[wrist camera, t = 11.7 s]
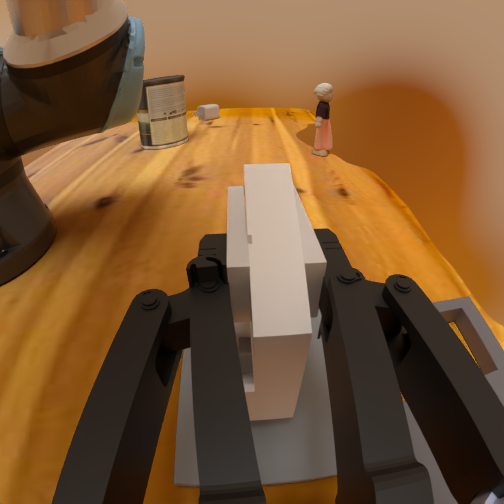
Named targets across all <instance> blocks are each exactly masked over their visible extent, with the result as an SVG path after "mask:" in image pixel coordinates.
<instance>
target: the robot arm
mask: <svg viewBox="0 0 504 504" xmlns="http://www.w3.org/2000/svg"><path fill="white" fill-rule="evenodd" d="M6 2H7V6H8V11H9V14H10V18H11V22H12V26H13V31H12V33H11V35H10V36H9V38H8V40H7V42H6V44H5V46H4V48H2V47H0V285H1V284H3V283H5V282H7V281H9V280H10V279H12V278H14V277H15V276H17V275H18V274H20V273H21V272H23V271H24V270H26V269H27V268H28V267H29V266H31V265H32V264H33V263H34V262H35V261H36V260H37V259H39V258H40V257H41V256H42V254H43V253H44V252H45V251H46V250H47V249H48V247H49V246H50V245H51V243H52V241H53V239H54V237H55V235H56V225H55V222H54V219H53V216H52V213H51V211H50V209H49V208H48V207H47V206H46V205H45V204H44V203H43V202H42V200H41V198H40V197H39V195H38V193H37V192H36V190H35V189H34V187H33V186H32V184H31V182H30V181H29V179H28V178H27V176H26V174H25V170H24V167H23V163H22V159H21V156H22V155H24V154H27V153H30V152H33V151H36V150H39V149H42V148H45V147H49V146H52V145H55V144H59V143H62V142H66V141H69V140H73V139H76V138H80V137H84V136H88V135H92V134H96V133H102V132H104V131H105V130H107V129H110V128H114V127H117V126H120V125H124V124H126V123H128V122H130V121H131V120H132V119H133V118H134V117H135V115H136V114H137V112H138V109H139V105H140V101H141V95H142V86H143V73H144V66H143V60H144V51H145V50H144V49H145V41H144V28H143V23H142V21H141V20H140V19H139V18H133V17H128V8H127V6H126V4H125V3H124V2H123V1H121V0H6ZM293 188H294V194H295V201H296V207H297V214H298V221H299V228H300V235H301V242H302V250H303V257H304V266H305V273H306V281H307V290H308V299H309V308H310V317H311V318H315V317H317V315H318V310H319V309H320V313H321V316H322V317H321V321H320V326H319V331H318V336H317V339H320V336H321V338H322V344H323V351H324V359H325V366H326V373H327V381H328V389H329V398H330V406H331V415H332V425H333V434H334V445H335V456H336V468H337V481H338V492H337V496H336V500H335V504H434V498H433V492H432V485H431V479H430V475H429V472H428V470H427V468H426V467H425V465H423V464H421V463H419V462H418V461H417V460H416V458H415V455H414V450H413V445H412V440H411V435H410V430H409V426H408V421H407V417H406V413H405V409H404V405H403V400H402V396H401V393H402V395H403V397H404V399H405V401H406V403H407V405H408V406H409V408H410V410H411V412H412V414H413V416H414V418H415V420H416V422H417V424H418V426H419V428H420V430H421V432H422V434H423V436H424V438H425V440H426V442H427V444H428V446H429V448H430V450H431V452H432V454H433V456H434V458H435V461H436V463H437V465H438V467H439V469H440V471H441V473H442V476H443V478H444V480H445V482H446V484H447V486H448V488H449V490H450V492H451V494H452V496H453V497H454V499H455V500H456V501H457V503H458V504H504V406H503V405H502V403H501V401H500V400H499V398H498V396H497V395H496V393H495V391H494V390H493V388H492V387H491V385H490V383H489V382H488V380H487V379H486V377H485V376H484V374H483V373H482V371H481V370H480V368H479V367H478V365H477V364H476V362H475V361H474V359H473V358H472V356H471V355H470V353H469V352H468V351H467V349H466V348H465V346H464V345H463V343H462V342H461V341H460V339H459V338H458V336H457V335H456V334H455V332H454V331H453V330H452V328H451V327H450V326H449V324H448V323H447V322H446V320H445V319H444V318H443V316H442V315H441V314H440V312H439V311H438V310H437V309H436V307H435V306H434V305H433V303H432V302H431V301H430V300H429V298H428V297H427V296H426V295H425V293H424V292H423V291H422V290H421V288H420V287H419V286H418V285H417V284H416V282H414V281H413V280H412V279H411V278H409V277H407V276H404V275H400V274H396V275H391V276H389V277H388V278H387V280H386V282H385V284H384V283H378V282H372V281H368V280H365V277H364V276H363V274H362V273H361V272H360V271H358V270H357V269H355V268H352V267H351V265H350V263H349V260H348V258H347V256H346V254H345V252H344V250H343V249H342V246H341V244H340V243H339V240H338V238H337V236H336V235H335V234H334V233H333V232H332V231H330V230H329V229H313V227H312V225H311V223H310V220H309V218H308V216H307V213H306V211H305V209H304V207H303V204H302V202H301V200H300V198H299V195H298V193H297V191H296V189H295V186H294V184H293ZM186 271H187V276H188V281H189V286H190V287H189V288H188V289H187V290H185V291H183V292H181V293H179V294H175V295H172V296H167V294H166V293H165V292H163V291H162V290H158V289H149V290H146V291H143V292H141V293H140V294H138V295H137V296H136V297H135V298H134V299H133V301H132V303H131V305H130V307H129V309H128V311H127V313H126V315H125V317H124V319H123V321H122V323H121V325H120V327H119V329H118V332H117V334H116V336H115V338H114V340H113V342H112V344H111V347H110V349H109V351H108V353H107V355H106V358H105V360H104V362H103V364H102V367H101V369H100V371H99V374H98V376H97V378H96V381H95V383H94V385H93V388H92V390H91V393H90V395H89V397H88V400H87V402H86V405H85V407H84V410H83V412H82V415H81V418H80V420H79V423H78V426H77V428H76V431H75V434H74V436H73V439H72V442H71V445H70V448H69V450H68V453H67V456H66V459H65V462H64V465H63V468H62V471H61V474H60V478H59V481H58V484H57V487H56V491H55V494H54V497H53V501H52V504H143V501H144V497H145V492H146V488H147V484H148V479H149V475H150V471H151V467H152V463H153V459H154V455H155V451H156V447H157V443H158V439H159V435H160V431H161V427H162V423H163V419H164V416H165V412H166V408H167V404H168V401H169V397H170V393H171V390H172V386H173V383H174V379H175V375H176V372H177V368H178V365H179V361H180V358H181V354H182V350H184V349H187V348H190V347H191V376H192V397H193V414H194V429H195V442H196V454H197V465H198V475H199V485H200V497H199V503H198V504H267V503H266V499H265V495H264V491H263V488H262V483H261V478H260V473H259V468H258V463H257V457H256V452H255V446H254V441H253V435H252V430H251V424H250V419H249V413H248V407H247V401H246V395H245V389H244V383H243V377H242V371H241V365H240V359H239V353H238V346H237V340H236V333H235V327H234V323H241V322H251V303H250V262H249V254H248V241H247V228H246V215H245V203H244V191H243V186H228V211H227V234H207V235H205V236H204V237H203V238H202V239H201V241H200V243H199V250H198V257H196V258H194V259H192V260H191V261H190V262H189V263H188V265H187V268H186ZM403 327H404V328H403ZM405 330H406V331H405ZM400 391H401V393H400Z"/></svg>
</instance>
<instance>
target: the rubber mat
mask: <svg viewBox="0 0 504 504" xmlns="http://www.w3.org/2000/svg"><path fill="white" fill-rule="evenodd" d="M321 317H322V316H321V313H320V309H319V310H318V315H317V317H315V318H311V327H312V336H311V341H310V346H309V351H308V355H307V360H306V365H305V369H304V374H303V378H302V382H301V386H300V391H299V395H298V399H297V403H296V407H295V411H294V415H293V417H291V418H281V419H268V420H253V421H250V424H251V430H252V435H253V441H254V446H255V452H256V457H257V463H258V468H259V473H260V478H261V483H262V486H267V485H278V484H288V483H296V482H304V481H311V480H317V479H323V478H329V477H334V476H337V468H336V456H335V445H334V434H333V425H332V415H331V406H330V398H329V389H328V381H327V373H326V366H325V359H324V351H323V344H322V338H321V336H320V339H317V336H318V331H319V326H320V321H321ZM240 362H241V371H242V374H250V373H253V362H252V354H240ZM174 484H175V485H177V486H191V487H200V485H199V475H198V465H197V454H196V442H195V429H194V414H193V397H192V376H191V347H190V348H187V349H184V350H183V360H182V370H181V381H180V392H179V404H178V417H177V432H176V449H175V469H174Z"/></svg>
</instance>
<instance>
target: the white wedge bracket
mask: <svg viewBox="0 0 504 504" xmlns="http://www.w3.org/2000/svg"><path fill="white" fill-rule="evenodd" d="M244 189H245V215H246V228H247V241H248V254H249V262H250V303H251V322H241V323H234V327H235V333H236V340H237V346H238V353H239V359H240V354H252V362H253V373H250V374H242V377H243V383H244V389H245V395H246V401H247V407H248V413H249V419H250V421H253V420H268V419H281V418H291V417H293V415H294V411H295V407H296V403H297V399H298V395H299V391H300V386H301V382H302V378H303V374H304V369H305V365H306V360H307V355H308V351H309V346H310V341H311V336H312V327H311V317H310V308H309V299H308V290H307V281H306V273H305V266H304V257H303V250H302V242H301V235H300V228H299V221H298V214H297V207H296V201H295V194H294V188H293V182H292V176H291V169H290V164H289V163H280V164H244ZM240 365H241V362H240Z"/></svg>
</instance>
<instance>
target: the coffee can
mask: <svg viewBox="0 0 504 504" xmlns="http://www.w3.org/2000/svg"><path fill="white" fill-rule="evenodd" d="M137 115H138V123H139V131H140V138H141V147H142V148H144V149H149V150H154V149H164V148H170V147H174V146H178V145H181V144H183V143H185V142H187V141H188V139H189V138H188V131H187V118H186V106H185V90H184V75H176V76H167V77H160V78H154V79H148V80H143V86H142V95H141V101H140V105H139V109H138V112H137Z"/></svg>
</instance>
